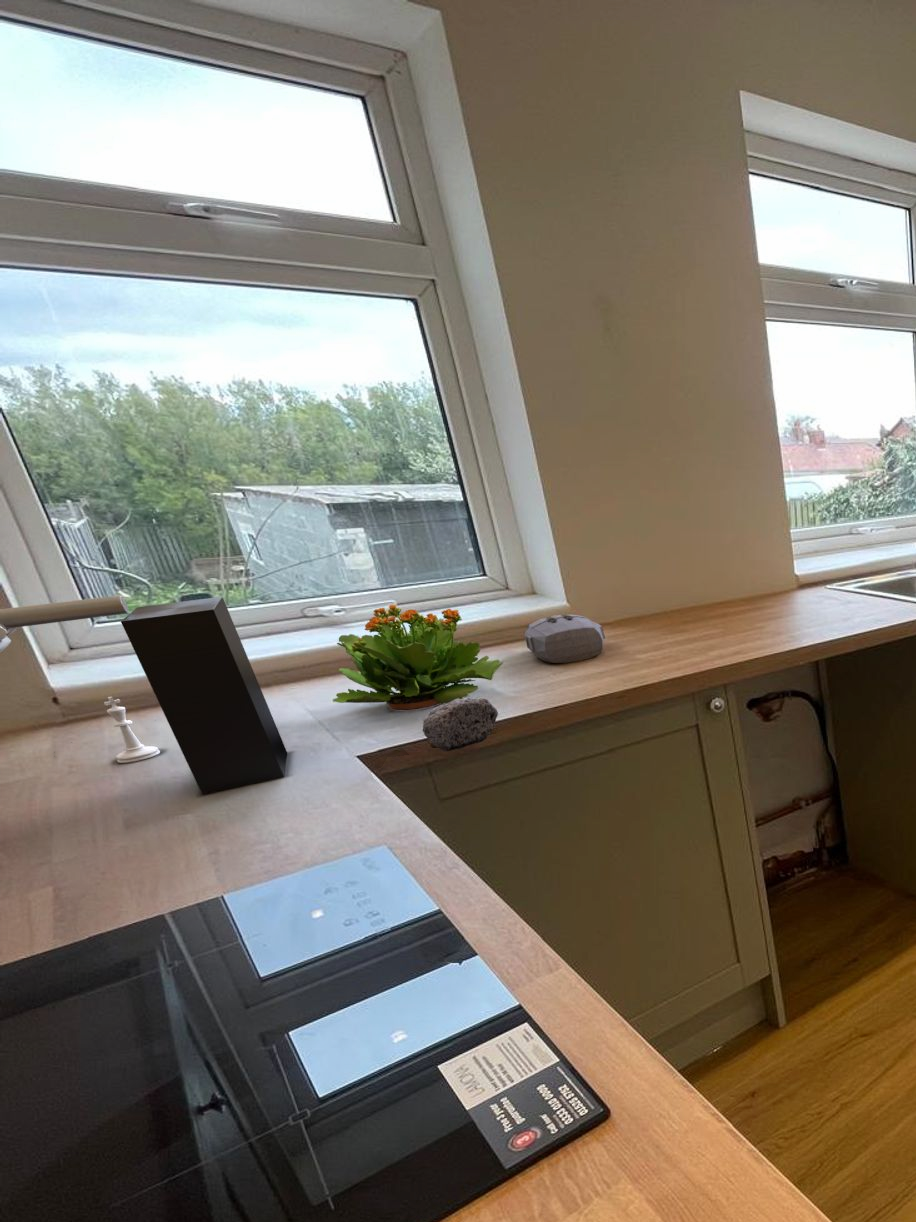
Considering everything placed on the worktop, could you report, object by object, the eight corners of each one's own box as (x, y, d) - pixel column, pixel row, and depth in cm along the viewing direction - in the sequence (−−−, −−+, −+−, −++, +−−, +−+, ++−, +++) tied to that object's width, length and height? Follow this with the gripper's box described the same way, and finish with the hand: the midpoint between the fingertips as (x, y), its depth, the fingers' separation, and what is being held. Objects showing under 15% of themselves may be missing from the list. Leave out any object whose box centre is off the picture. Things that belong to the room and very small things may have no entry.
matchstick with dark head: (-75, 643, 97) (-90, 617, 96) (-65, 639, 100) (-80, 613, 99) (128, 618, 107) (116, 594, 106) (132, 614, 109) (121, 590, 108)
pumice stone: (434, 754, 131) (429, 756, 122) (418, 707, 129) (411, 706, 121) (506, 736, 136) (506, 738, 127) (491, 692, 134) (490, 690, 126)
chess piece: (164, 753, 129) (136, 694, 125) (122, 765, 125) (91, 704, 121) (155, 748, 132) (126, 690, 128) (113, 759, 128) (82, 699, 124)
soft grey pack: (616, 654, 175) (590, 637, 189) (607, 615, 171) (582, 602, 186) (539, 669, 166) (519, 651, 180) (528, 629, 163) (508, 614, 177)
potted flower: (369, 736, 133) (330, 632, 126) (307, 715, 144) (269, 618, 138) (519, 692, 152) (493, 599, 145) (454, 676, 164) (427, 590, 157)
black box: (202, 795, 113) (120, 621, 104) (211, 769, 122) (137, 607, 113) (284, 776, 118) (213, 609, 109) (287, 753, 127) (222, 596, 118)
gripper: (-177, 694, 89) (-47, 613, 92) (-102, 657, 104) (7, 589, 108) (-104, 733, 92) (18, 653, 96) (-43, 692, 107) (61, 625, 111)
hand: (12, 619), depth 102 cm, fingers open, 8 cm apart
